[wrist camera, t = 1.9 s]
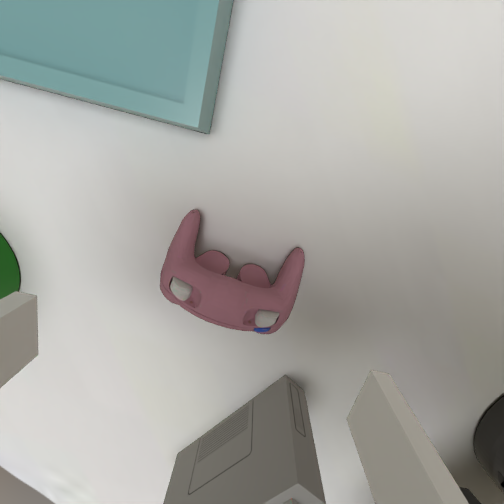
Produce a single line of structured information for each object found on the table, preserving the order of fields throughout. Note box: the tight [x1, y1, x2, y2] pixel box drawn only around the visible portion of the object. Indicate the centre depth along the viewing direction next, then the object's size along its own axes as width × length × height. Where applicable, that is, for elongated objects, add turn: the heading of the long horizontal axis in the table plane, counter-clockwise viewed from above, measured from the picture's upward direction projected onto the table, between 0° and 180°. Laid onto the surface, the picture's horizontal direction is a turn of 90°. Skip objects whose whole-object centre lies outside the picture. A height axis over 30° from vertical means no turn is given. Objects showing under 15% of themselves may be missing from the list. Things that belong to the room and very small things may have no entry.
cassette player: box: [163, 375, 326, 504], centre depth 22 cm, size 16×3×10 cm, turn 134°
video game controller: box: [160, 210, 305, 334], centre depth 19 cm, size 10×5×7 cm, turn 70°
